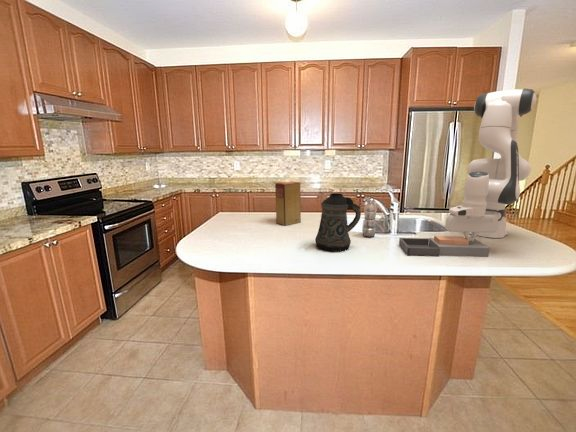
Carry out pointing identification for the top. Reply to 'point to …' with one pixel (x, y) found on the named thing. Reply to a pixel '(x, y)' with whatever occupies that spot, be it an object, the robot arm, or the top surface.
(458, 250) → the plate
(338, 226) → the beer stein
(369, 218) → the plastic bottle
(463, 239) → the tile
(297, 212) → the food packaging
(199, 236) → the top surface
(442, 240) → the tile
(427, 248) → the box
